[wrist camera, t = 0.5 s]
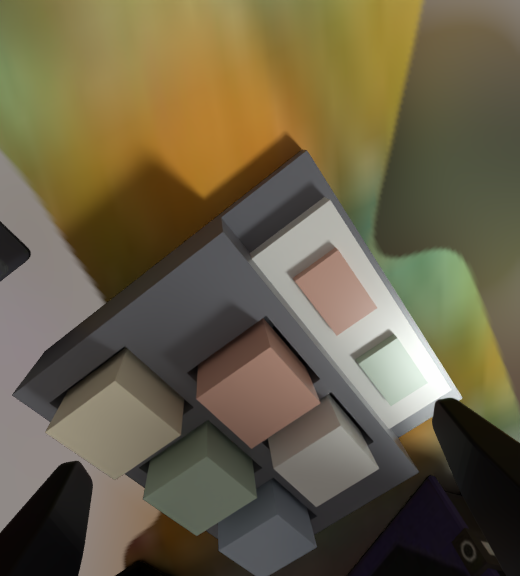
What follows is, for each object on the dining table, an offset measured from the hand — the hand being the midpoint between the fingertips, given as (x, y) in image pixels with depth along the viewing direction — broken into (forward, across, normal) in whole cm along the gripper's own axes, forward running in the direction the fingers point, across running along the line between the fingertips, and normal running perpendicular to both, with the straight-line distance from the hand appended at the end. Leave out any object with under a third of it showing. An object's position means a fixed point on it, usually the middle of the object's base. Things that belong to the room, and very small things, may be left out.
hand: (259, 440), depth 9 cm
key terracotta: (+10, 0, +6) cm, 11 cm away
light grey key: (+9, -2, +12) cm, 15 cm away
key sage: (+9, +5, +12) cm, 15 cm away
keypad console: (+12, -1, +10) cm, 16 cm away
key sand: (+9, +8, +6) cm, 13 cm away
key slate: (+8, +2, +18) cm, 20 cm away
